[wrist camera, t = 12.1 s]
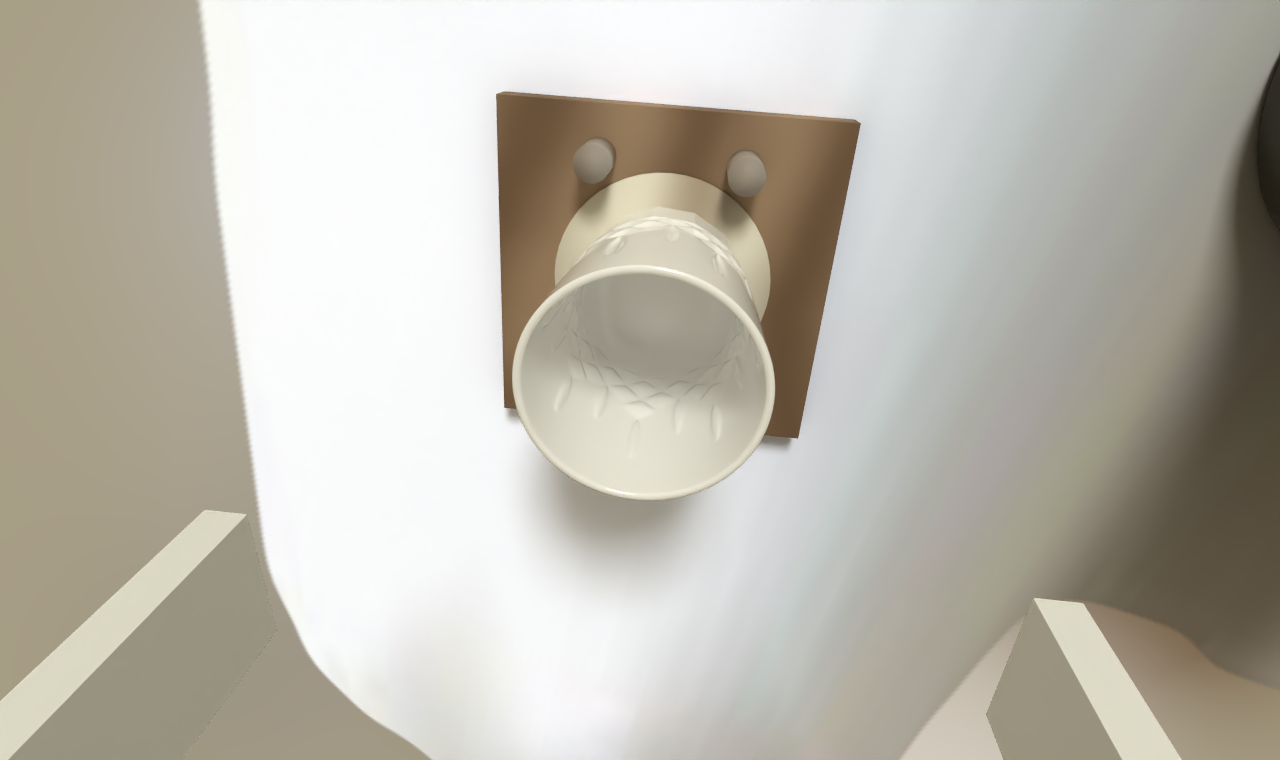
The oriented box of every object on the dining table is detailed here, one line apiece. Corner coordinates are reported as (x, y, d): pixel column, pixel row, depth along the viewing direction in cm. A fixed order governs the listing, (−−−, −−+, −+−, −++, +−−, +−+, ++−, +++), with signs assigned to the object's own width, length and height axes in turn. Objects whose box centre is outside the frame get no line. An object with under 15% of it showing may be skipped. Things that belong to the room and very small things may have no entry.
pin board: (854, 119, 27) (871, 130, 25) (795, 425, 34) (802, 462, 31) (504, 91, 28) (481, 98, 25) (510, 395, 35) (492, 428, 32)
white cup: (562, 351, 32) (503, 476, 23) (582, 174, 28) (521, 242, 19) (733, 382, 32) (741, 521, 23) (776, 209, 28) (806, 294, 19)
